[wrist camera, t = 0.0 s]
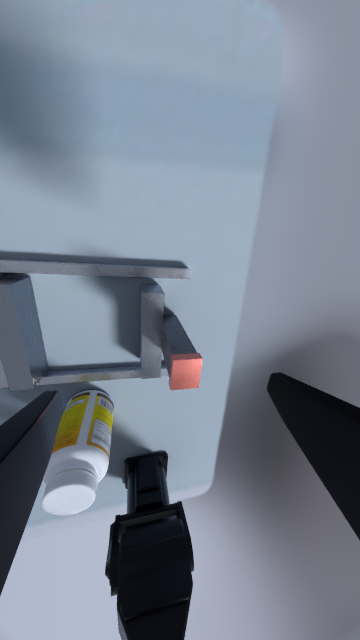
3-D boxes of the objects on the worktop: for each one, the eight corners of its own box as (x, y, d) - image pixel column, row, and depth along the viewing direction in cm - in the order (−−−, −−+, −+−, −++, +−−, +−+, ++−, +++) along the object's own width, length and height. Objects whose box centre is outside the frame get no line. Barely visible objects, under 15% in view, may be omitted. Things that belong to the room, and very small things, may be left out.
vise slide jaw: (173, 358, 25) (194, 419, 17) (140, 360, 24) (144, 425, 16) (178, 285, 22) (208, 316, 13) (140, 284, 21) (145, 316, 12)
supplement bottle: (62, 418, 25) (22, 524, 16) (73, 383, 24) (35, 477, 14) (107, 424, 27) (95, 520, 18) (120, 391, 26) (113, 479, 16)
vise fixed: (179, 369, 26) (185, 387, 23) (4, 381, 22) (-17, 406, 19) (188, 267, 21) (197, 273, 18) (-33, 256, 17) (-70, 261, 14)
